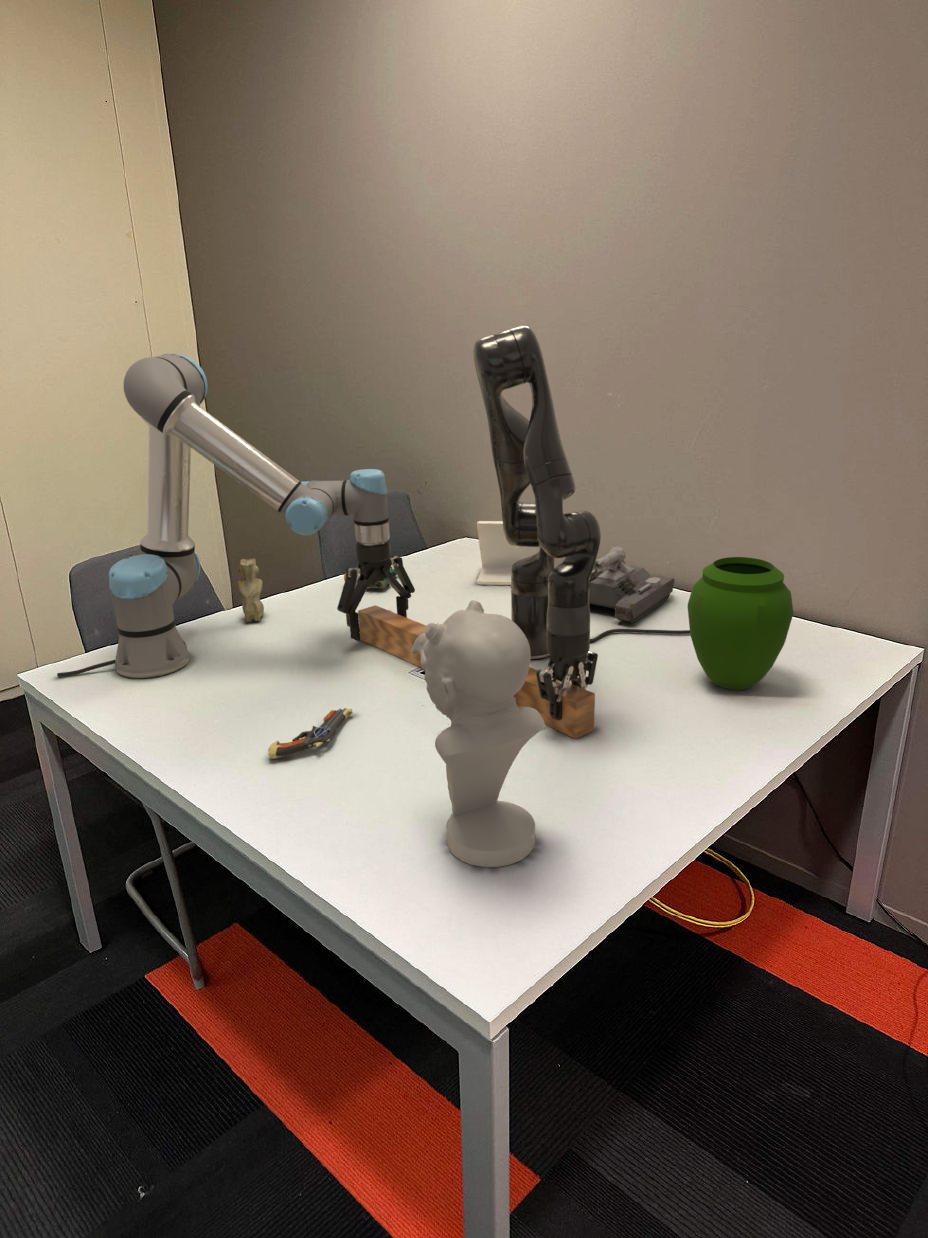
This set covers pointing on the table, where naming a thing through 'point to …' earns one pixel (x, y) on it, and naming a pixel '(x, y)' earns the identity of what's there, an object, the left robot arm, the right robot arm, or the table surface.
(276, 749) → the toy gun
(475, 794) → the bust sculpture
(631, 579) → the toy
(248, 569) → the sculpture
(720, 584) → the vase
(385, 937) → the table surface
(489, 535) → the tablet stand
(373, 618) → the beam
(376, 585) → the spray gun
